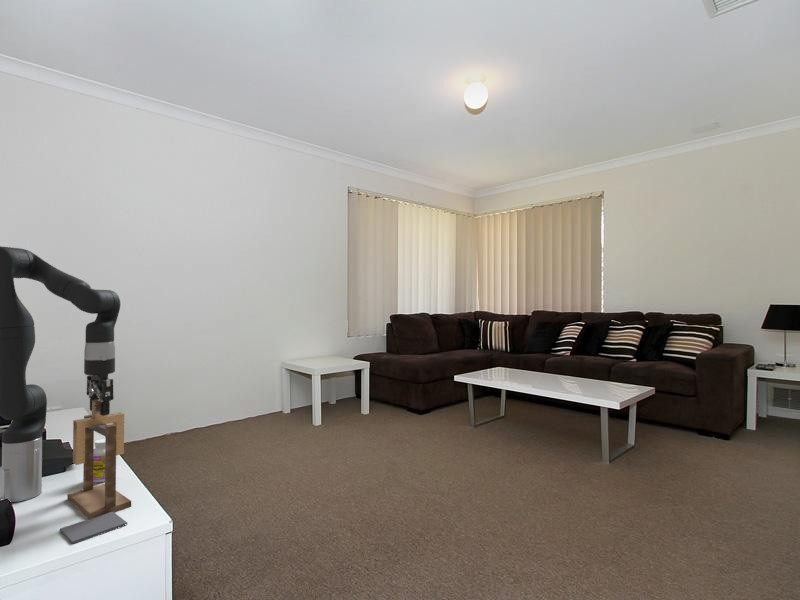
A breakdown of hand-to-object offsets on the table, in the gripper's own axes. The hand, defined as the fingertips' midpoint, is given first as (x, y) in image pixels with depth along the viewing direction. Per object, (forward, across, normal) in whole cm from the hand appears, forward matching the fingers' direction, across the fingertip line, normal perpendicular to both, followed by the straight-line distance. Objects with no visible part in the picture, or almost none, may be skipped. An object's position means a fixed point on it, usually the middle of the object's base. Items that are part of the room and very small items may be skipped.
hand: (99, 412), depth 130 cm
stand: (+26, 0, 0) cm, 26 cm away
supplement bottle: (+26, -19, +7) cm, 33 cm away
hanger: (+13, 0, 0) cm, 13 cm away
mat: (+26, +16, -6) cm, 31 cm away
